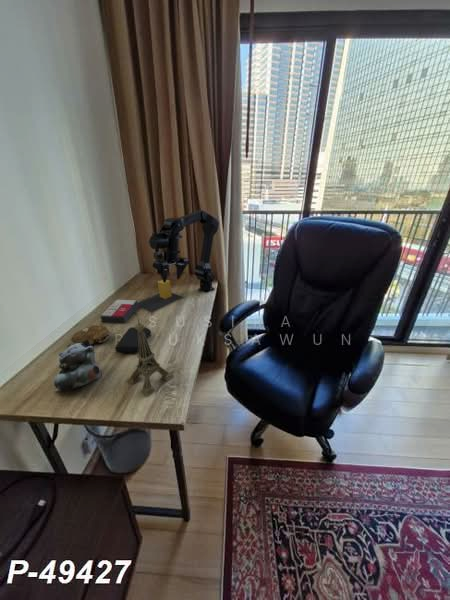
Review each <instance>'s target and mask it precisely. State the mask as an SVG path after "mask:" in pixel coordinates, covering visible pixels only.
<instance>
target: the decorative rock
mask: <svg viewBox="0 0 450 600" xmlns="http://www.w3.org/2000/svg"><path fill="white" fill-rule="evenodd" d="M110 336H111V333H110V330H109V329H108V328H107V326H105V325H97V324H91V325H89V326H87V327H84V328H82V329H80V330H78V331H76V332H75V333H74V334H73V335H72V336H71V337H70V341H71V342H72V344H77V343H83V342H84V341H85V340H88V341H89V343H90V345H93V344H94V343H100V344H101V343H105V342H107V341H108V340H109V337H110Z"/></svg>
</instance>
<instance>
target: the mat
mask: <svg viewBox="0 0 450 600" xmlns="http://www.w3.org/2000/svg"><path fill="white" fill-rule="evenodd" d="M171 293H172V296H171V297H169V298H167V299H164V298H161V297H160V294H159V293H157V294H155V295H152V296H150V297H148V298H145V299H144V300H141V301H139V302H137V303H138V307H140V308H141V309H144V310H146V311H147V312H150V313H154V312H156V311H159V310H160V309H162V308H164V307H166V306H168V305H171V304H173V303H174V302H176V301H179V300H180V299H182V298H184V297H183V296H181V295H179V294H176V293H173V292H171Z"/></svg>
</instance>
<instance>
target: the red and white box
mask: <svg viewBox="0 0 450 600" xmlns="http://www.w3.org/2000/svg"><path fill="white" fill-rule="evenodd" d="M138 303H139V302H138V300H132V299H116V300H115V301H114V302H113V303H112V304H111V305H109V307H108V308H107V309H106V310H105V311H104V312H102V314H101V315H100V319H101V322H102V323H114V324H116V323H117V324H125V323H126V322H127V321H128V319H130V317H131V316H132V315H133V313H134V312H135V311H136V310H137V309H138V308H139V306H138Z"/></svg>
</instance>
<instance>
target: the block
mask: <svg viewBox="0 0 450 600" xmlns="http://www.w3.org/2000/svg"><path fill="white" fill-rule="evenodd" d="M157 287H158V294H160V297H161V298H164V299H167V298H169V297H171V296H172V293H173V292H172V286H171V280H169V279H167V280H166V283H164V282H163V279H160V280H158V281H157Z"/></svg>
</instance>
